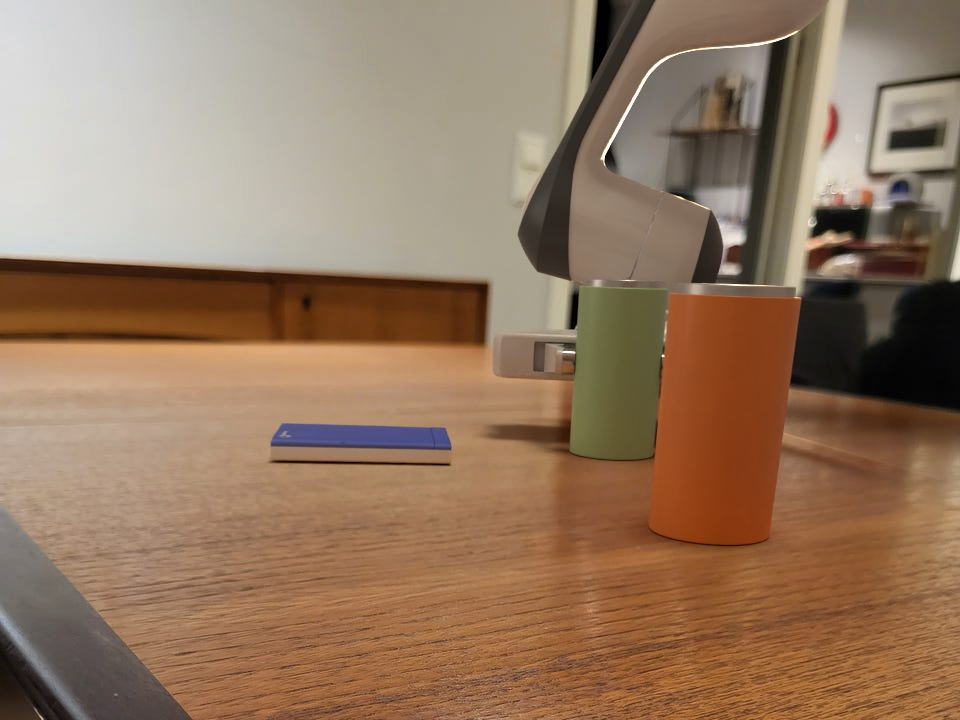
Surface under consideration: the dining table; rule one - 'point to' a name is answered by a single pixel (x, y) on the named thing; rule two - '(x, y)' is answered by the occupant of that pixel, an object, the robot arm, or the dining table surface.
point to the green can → (617, 368)
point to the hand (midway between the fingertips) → (618, 364)
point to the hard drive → (360, 443)
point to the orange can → (722, 411)
